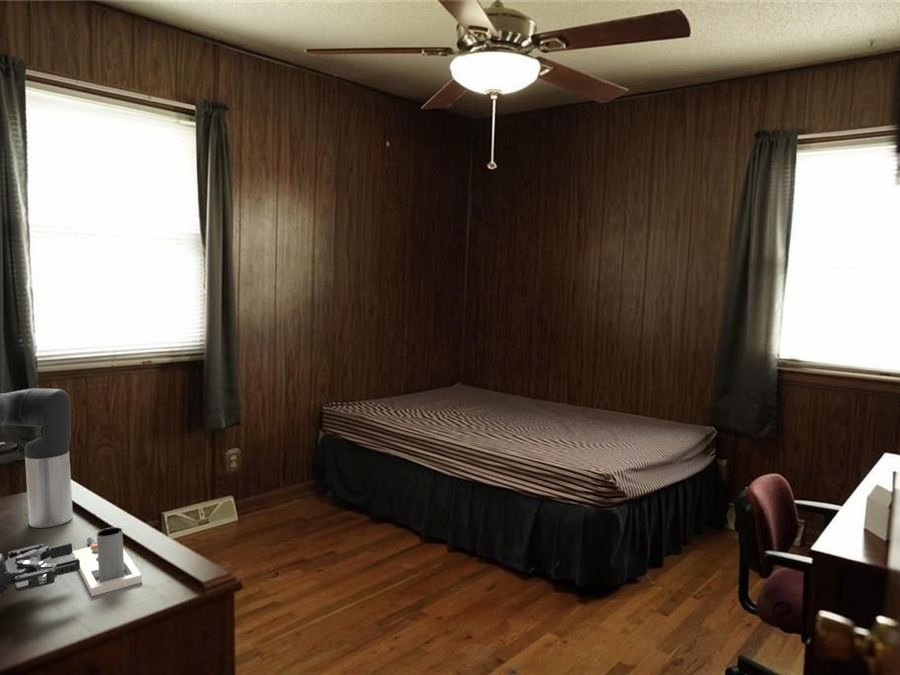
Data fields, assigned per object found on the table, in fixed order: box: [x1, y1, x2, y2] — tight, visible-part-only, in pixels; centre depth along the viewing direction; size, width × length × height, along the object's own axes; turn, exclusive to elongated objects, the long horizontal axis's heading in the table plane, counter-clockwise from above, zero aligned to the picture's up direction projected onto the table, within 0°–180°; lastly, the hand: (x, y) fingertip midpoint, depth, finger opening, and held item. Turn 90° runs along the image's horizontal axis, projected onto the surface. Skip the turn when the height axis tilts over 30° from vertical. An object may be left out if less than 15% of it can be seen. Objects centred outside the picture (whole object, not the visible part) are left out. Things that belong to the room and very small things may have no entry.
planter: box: [96, 526, 125, 583], centre depth 130 cm, size 4×4×10 cm
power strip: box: [71, 537, 143, 597], centre depth 138 cm, size 27×9×2 cm, turn 39°
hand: (75, 555), depth 126 cm, fingers open, 8 cm apart
